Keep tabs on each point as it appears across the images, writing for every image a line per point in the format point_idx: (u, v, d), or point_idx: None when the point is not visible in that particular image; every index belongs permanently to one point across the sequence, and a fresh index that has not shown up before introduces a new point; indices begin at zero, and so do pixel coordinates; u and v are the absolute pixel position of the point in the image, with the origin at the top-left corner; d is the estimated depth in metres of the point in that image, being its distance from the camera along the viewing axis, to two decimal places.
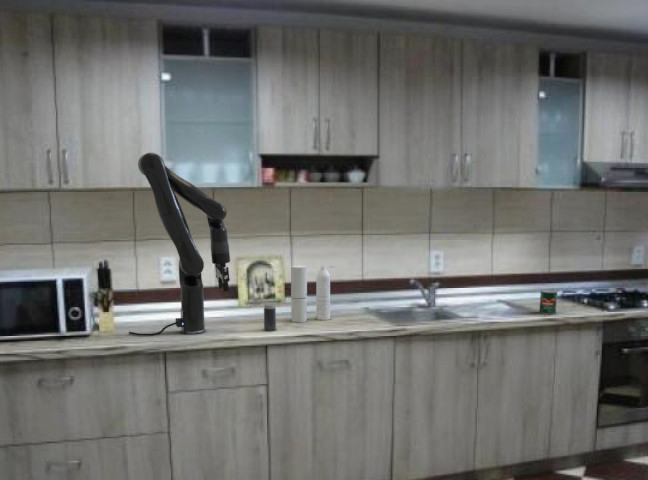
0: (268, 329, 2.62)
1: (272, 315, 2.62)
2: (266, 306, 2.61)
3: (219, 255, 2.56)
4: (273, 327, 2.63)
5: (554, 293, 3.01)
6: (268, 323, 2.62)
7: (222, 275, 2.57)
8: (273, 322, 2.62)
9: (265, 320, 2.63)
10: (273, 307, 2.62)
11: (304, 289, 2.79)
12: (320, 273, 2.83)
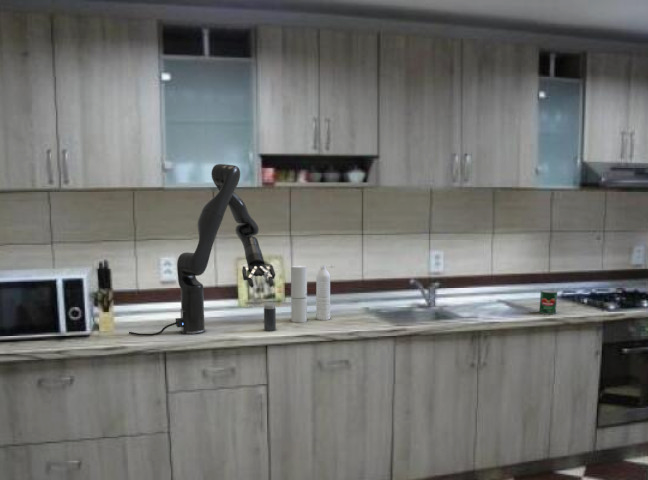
0: (268, 329, 2.62)
1: (272, 315, 2.62)
2: (266, 306, 2.61)
3: (262, 257, 2.80)
4: (273, 327, 2.63)
5: (554, 293, 3.01)
6: (268, 323, 2.62)
7: None
8: (273, 322, 2.62)
9: (265, 320, 2.63)
10: (273, 307, 2.62)
11: (304, 289, 2.79)
12: (320, 273, 2.83)
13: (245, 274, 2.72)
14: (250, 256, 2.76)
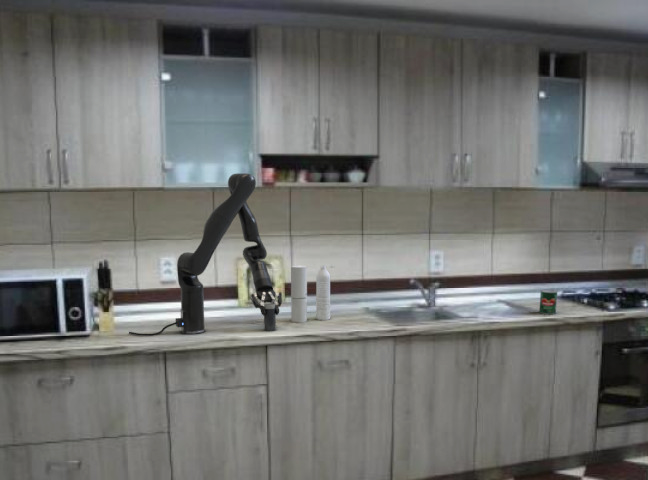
0: (268, 329, 2.62)
1: (272, 315, 2.62)
2: (266, 306, 2.61)
3: (271, 282, 2.71)
4: (273, 327, 2.63)
5: (554, 293, 3.01)
6: (268, 323, 2.62)
7: None
8: (273, 322, 2.62)
9: (265, 320, 2.63)
10: (273, 307, 2.62)
11: (304, 289, 2.79)
12: (320, 273, 2.83)
13: (257, 302, 2.62)
14: (258, 281, 2.67)
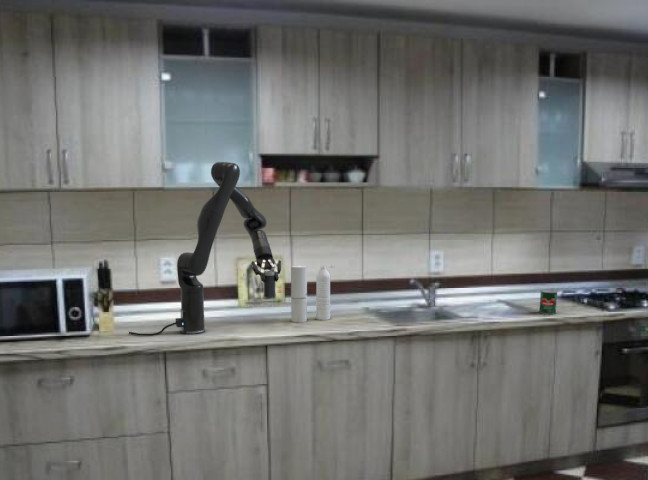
0: (268, 295, 2.71)
1: (272, 282, 2.70)
2: (266, 273, 2.69)
3: None
4: (273, 293, 2.71)
5: (554, 293, 3.01)
6: (268, 289, 2.70)
7: None
8: (272, 289, 2.71)
9: (264, 287, 2.71)
10: (273, 274, 2.70)
11: (304, 289, 2.79)
12: (320, 273, 2.83)
13: (257, 269, 2.70)
14: (258, 249, 2.75)
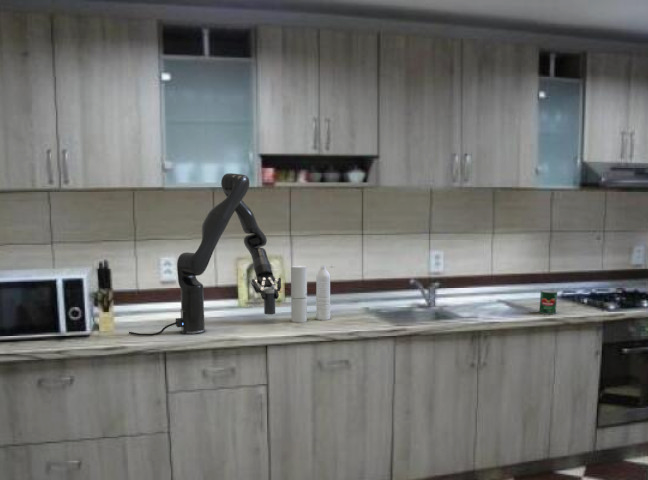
0: (268, 313, 2.75)
1: (272, 299, 2.74)
2: (266, 291, 2.74)
3: None
4: (273, 311, 2.76)
5: (554, 293, 3.01)
6: (268, 306, 2.75)
7: None
8: (272, 306, 2.75)
9: (265, 304, 2.75)
10: (273, 291, 2.74)
11: (304, 289, 2.79)
12: (320, 273, 2.83)
13: (257, 287, 2.75)
14: (259, 267, 2.79)
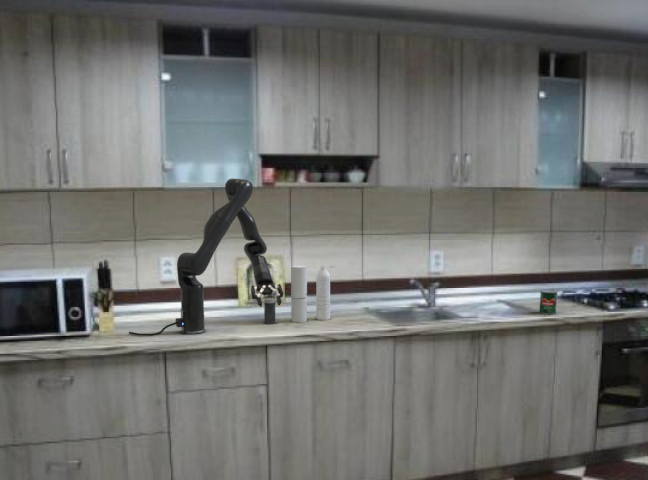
0: (268, 322, 2.76)
1: (272, 309, 2.75)
2: (266, 300, 2.75)
3: None
4: (273, 320, 2.76)
5: (554, 293, 3.01)
6: (268, 316, 2.75)
7: None
8: (273, 316, 2.76)
9: (265, 314, 2.76)
10: (273, 301, 2.75)
11: (304, 289, 2.79)
12: (320, 273, 2.83)
13: (254, 293, 2.75)
14: (259, 275, 2.80)
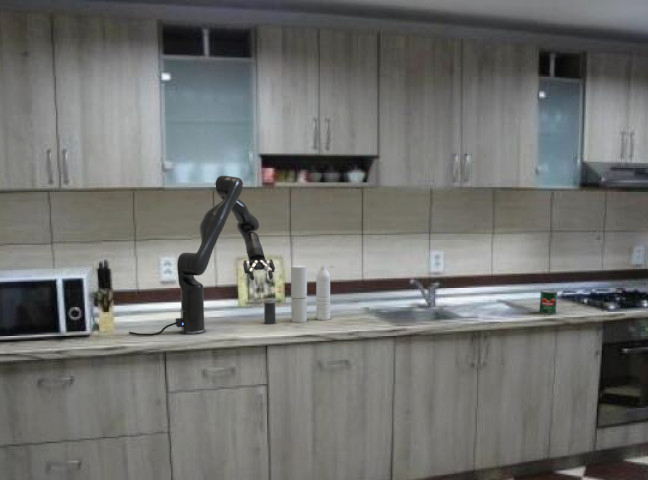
0: (268, 322, 2.76)
1: (272, 309, 2.75)
2: (266, 300, 2.75)
3: None
4: (273, 320, 2.76)
5: (554, 293, 3.01)
6: (268, 316, 2.75)
7: None
8: (273, 316, 2.76)
9: (265, 314, 2.76)
10: (273, 301, 2.75)
11: (304, 289, 2.79)
12: (320, 273, 2.83)
13: (246, 268, 2.85)
14: (251, 250, 2.90)
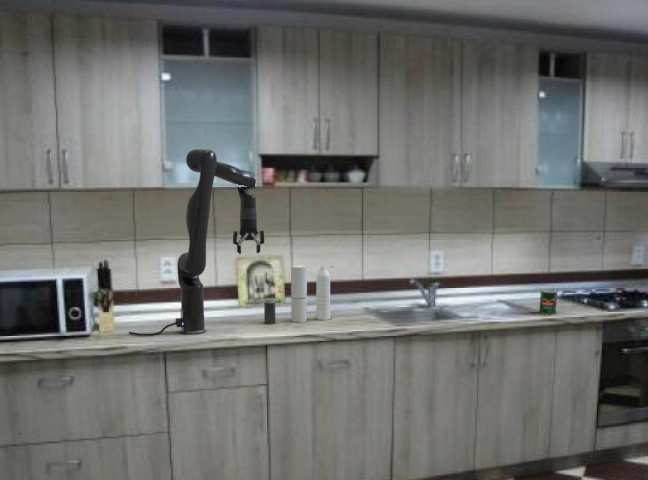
0: (268, 322, 2.76)
1: (272, 309, 2.75)
2: (266, 300, 2.75)
3: (256, 220, 2.82)
4: (273, 320, 2.76)
5: (554, 293, 3.01)
6: (268, 316, 2.75)
7: None
8: (273, 316, 2.76)
9: (265, 314, 2.76)
10: (273, 301, 2.75)
11: (304, 289, 2.79)
12: (320, 273, 2.83)
13: (235, 241, 2.80)
14: (244, 221, 2.79)
